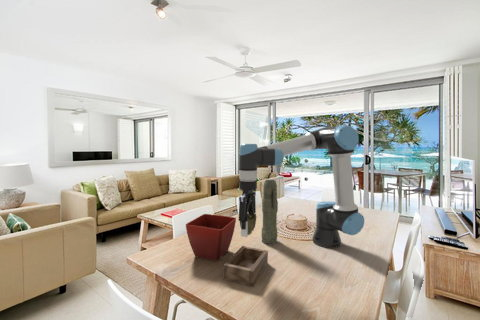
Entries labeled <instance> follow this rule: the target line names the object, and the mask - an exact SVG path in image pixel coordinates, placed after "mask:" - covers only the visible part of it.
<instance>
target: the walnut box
mask: <svg viewBox="0 0 480 320" xmlns="http://www.w3.org/2000/svg"><path fill="white" fill-rule="evenodd" d="M268 252H269V251H268V250H267V249H260V248H256V247H250V246H246V245H242V246H241V247H239V248H238V250H237V251H236V252H235V253H234V254H233V255H232V256H230V258H228V260H227V261H225V263H224V264H223V280H225V281H229V282H233V283H237V284H240V285H245V286H248V287H254V285H255V284H256V282H257V281H258V280H259V278H260V276H261V275H262V273H263V272H264V269H265V268H266V267H267V265H268V264H269V263H268V262H269V261H268V260H269V259H268V254H269V253H268Z"/></svg>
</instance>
